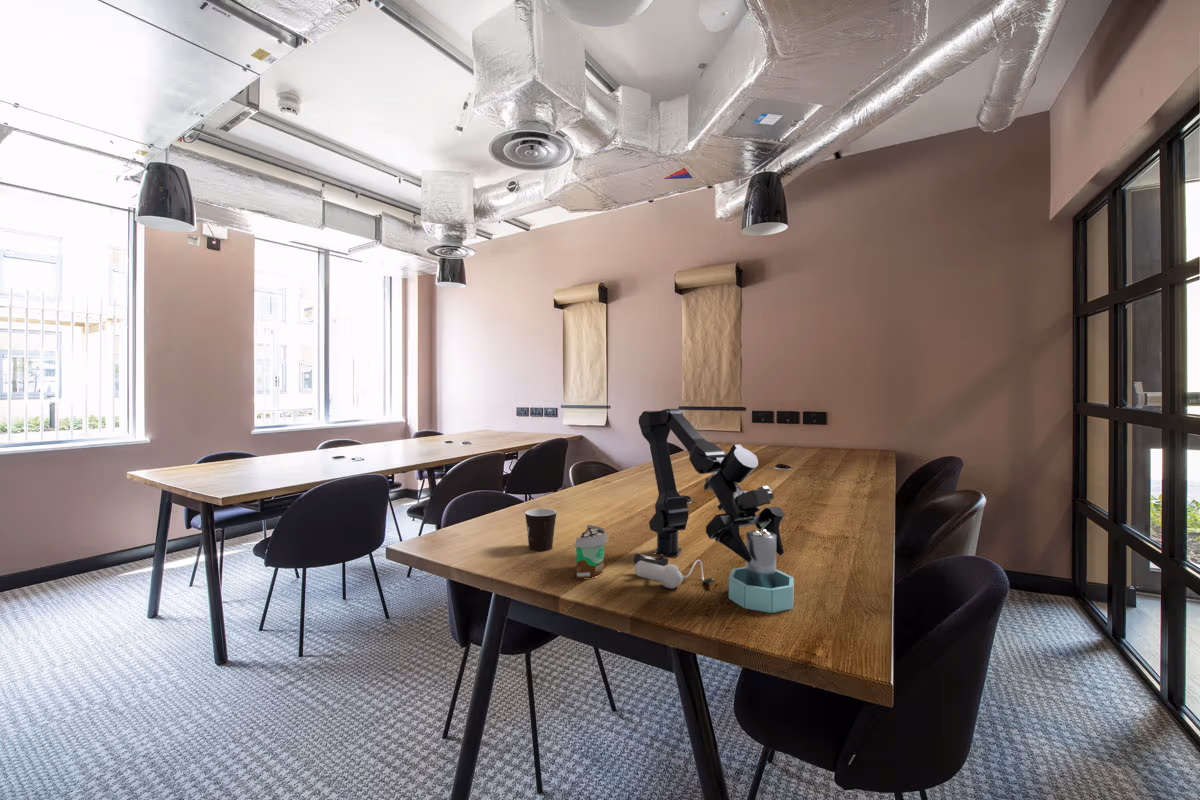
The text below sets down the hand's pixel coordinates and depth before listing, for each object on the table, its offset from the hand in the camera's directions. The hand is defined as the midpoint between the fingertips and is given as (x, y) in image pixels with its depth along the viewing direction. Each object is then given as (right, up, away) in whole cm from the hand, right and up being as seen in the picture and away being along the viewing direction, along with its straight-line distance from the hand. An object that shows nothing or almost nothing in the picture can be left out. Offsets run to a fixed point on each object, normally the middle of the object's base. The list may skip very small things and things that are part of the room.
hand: (766, 557), depth 101 cm
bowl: (-1, -9, +1) cm, 9 cm away
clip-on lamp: (-18, -9, +11) cm, 23 cm away
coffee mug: (-51, -9, +33) cm, 62 cm away
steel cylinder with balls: (-1, -8, +1) cm, 8 cm away
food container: (-36, -9, +15) cm, 40 cm away
